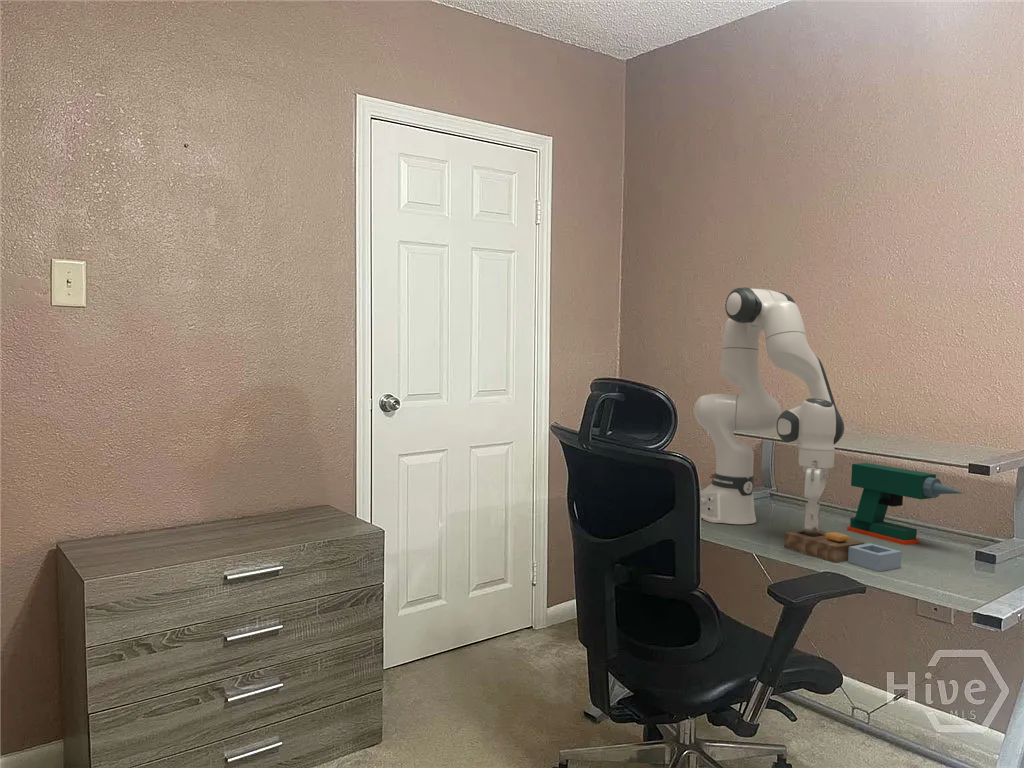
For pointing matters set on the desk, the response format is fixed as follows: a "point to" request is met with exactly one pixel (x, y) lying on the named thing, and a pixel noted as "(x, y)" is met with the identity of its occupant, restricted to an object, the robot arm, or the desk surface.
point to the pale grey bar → (811, 522)
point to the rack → (874, 557)
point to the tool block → (819, 546)
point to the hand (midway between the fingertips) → (813, 511)
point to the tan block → (837, 537)
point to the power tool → (890, 499)
